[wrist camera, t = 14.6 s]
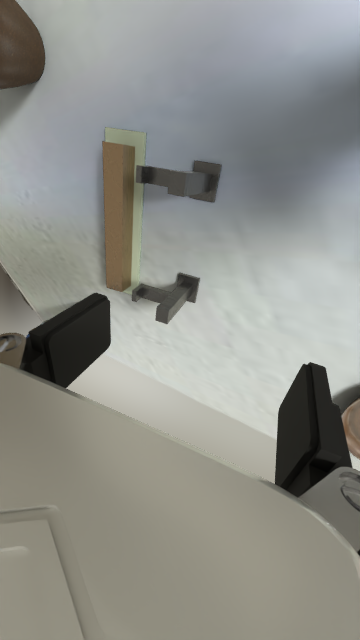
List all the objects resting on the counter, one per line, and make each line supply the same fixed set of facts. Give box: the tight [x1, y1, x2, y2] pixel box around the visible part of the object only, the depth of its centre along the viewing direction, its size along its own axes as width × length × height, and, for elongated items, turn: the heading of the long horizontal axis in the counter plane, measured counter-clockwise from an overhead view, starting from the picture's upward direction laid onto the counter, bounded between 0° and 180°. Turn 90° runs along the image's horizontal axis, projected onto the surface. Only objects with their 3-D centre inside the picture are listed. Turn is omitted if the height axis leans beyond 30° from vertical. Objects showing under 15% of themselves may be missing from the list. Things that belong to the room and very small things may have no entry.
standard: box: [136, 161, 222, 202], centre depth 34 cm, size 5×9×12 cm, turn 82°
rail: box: [102, 141, 135, 292], centre depth 44 cm, size 24×4×4 cm, turn 172°
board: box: [105, 127, 146, 295], centre depth 46 cm, size 28×7×1 cm, turn 172°
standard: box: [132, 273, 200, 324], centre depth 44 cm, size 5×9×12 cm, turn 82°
